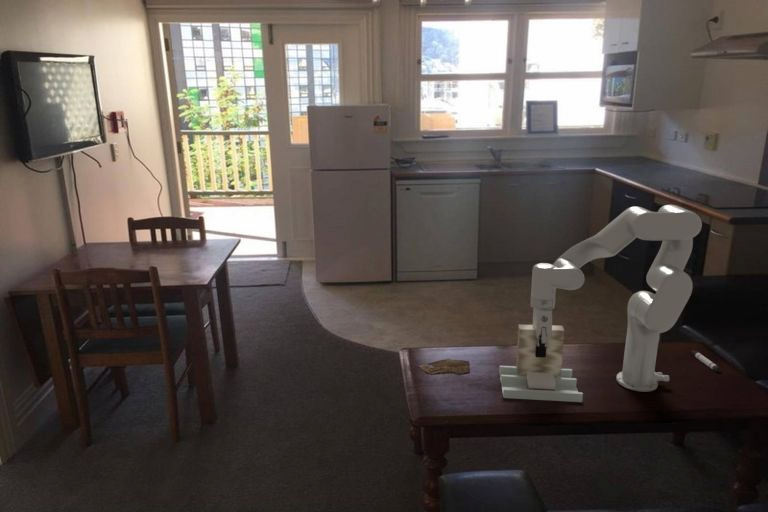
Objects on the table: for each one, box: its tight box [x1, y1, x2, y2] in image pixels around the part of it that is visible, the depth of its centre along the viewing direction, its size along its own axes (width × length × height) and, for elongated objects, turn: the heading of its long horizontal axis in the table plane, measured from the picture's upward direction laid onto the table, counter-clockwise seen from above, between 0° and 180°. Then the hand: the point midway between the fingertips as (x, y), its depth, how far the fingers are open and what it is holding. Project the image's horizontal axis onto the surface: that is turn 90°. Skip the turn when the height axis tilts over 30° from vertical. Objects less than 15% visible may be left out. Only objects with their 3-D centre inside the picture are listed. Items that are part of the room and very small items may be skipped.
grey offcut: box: [527, 372, 556, 389], centre depth 176 cm, size 8×6×2 cm
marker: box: [691, 349, 722, 373], centre depth 198 cm, size 15×2×2 cm, turn 4°
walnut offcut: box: [526, 381, 555, 391], centre depth 177 cm, size 8×6×2 cm
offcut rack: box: [498, 365, 584, 403], centre depth 180 cm, size 24×18×4 cm
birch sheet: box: [515, 323, 565, 376], centre depth 182 cm, size 14×4×16 cm, turn 83°
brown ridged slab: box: [418, 358, 471, 375], centre depth 196 cm, size 26×11×1 cm, turn 91°
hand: (539, 353), depth 182 cm, fingers closed on birch sheet, 4 cm apart
